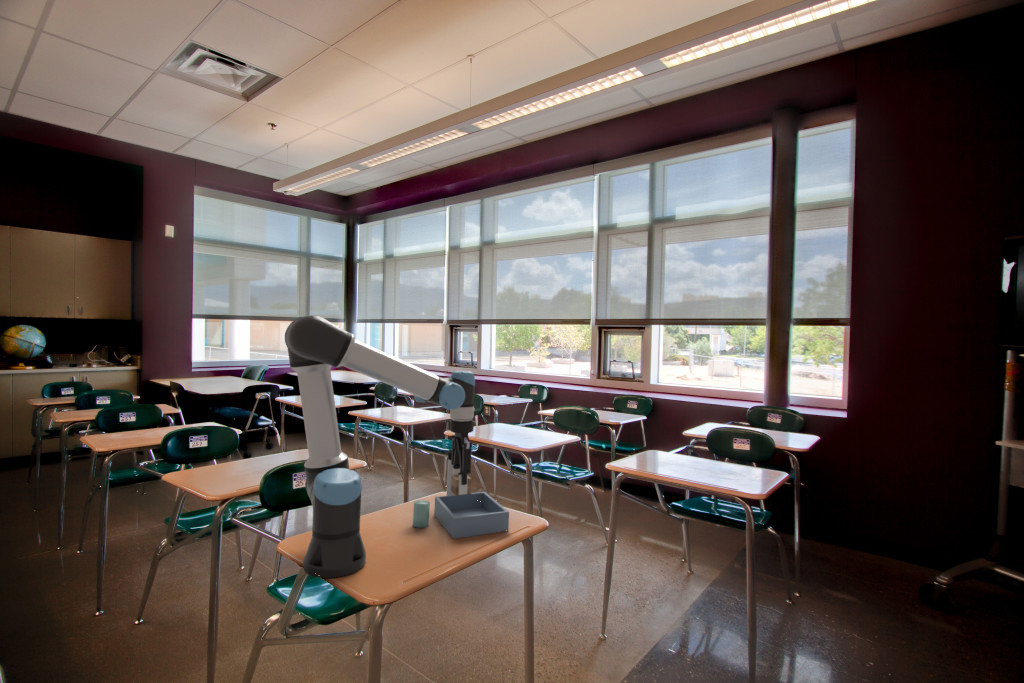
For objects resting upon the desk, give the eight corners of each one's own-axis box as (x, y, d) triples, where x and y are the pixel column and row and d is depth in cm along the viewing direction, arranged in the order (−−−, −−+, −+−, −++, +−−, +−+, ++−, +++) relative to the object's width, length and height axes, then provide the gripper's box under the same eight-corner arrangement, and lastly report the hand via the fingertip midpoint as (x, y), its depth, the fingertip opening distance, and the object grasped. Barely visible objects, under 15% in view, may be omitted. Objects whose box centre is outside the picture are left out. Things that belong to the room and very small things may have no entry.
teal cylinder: (415, 528, 152) (416, 505, 152) (410, 523, 156) (411, 501, 156) (430, 526, 154) (432, 504, 154) (425, 521, 158) (426, 499, 158)
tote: (453, 538, 145) (453, 518, 145) (434, 514, 164) (434, 496, 164) (508, 530, 153) (509, 511, 153) (484, 508, 172) (484, 491, 172)
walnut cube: (455, 495, 154) (456, 480, 154) (451, 490, 158) (451, 475, 158) (470, 494, 156) (471, 478, 156) (465, 489, 160) (466, 474, 160)
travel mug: (463, 508, 171) (465, 451, 171) (444, 507, 171) (446, 450, 171) (465, 502, 177) (467, 447, 177) (447, 501, 177) (449, 446, 177)
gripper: (482, 423, 150) (480, 499, 150) (464, 414, 166) (462, 482, 167) (459, 424, 147) (457, 501, 147) (442, 415, 163) (440, 484, 164)
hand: (459, 491), depth 157 cm, fingers closed on walnut cube, 5 cm apart
